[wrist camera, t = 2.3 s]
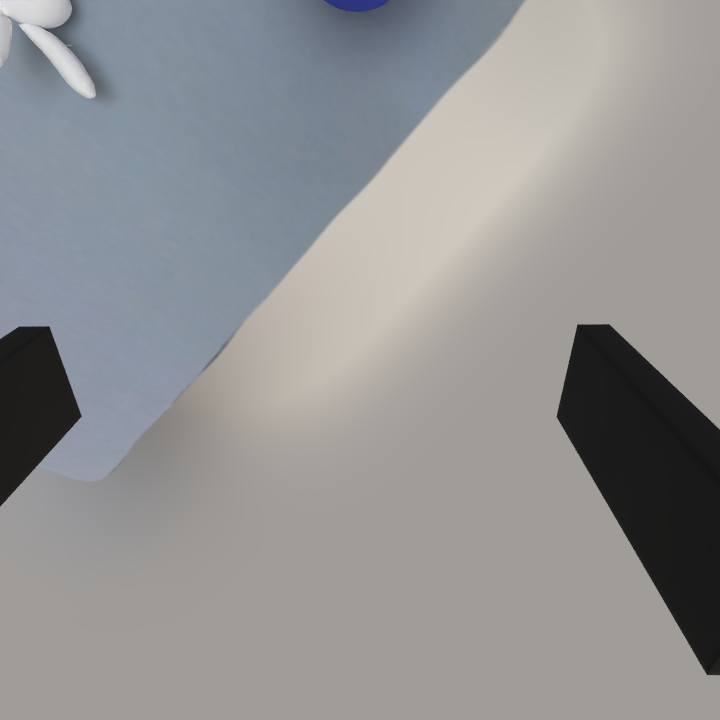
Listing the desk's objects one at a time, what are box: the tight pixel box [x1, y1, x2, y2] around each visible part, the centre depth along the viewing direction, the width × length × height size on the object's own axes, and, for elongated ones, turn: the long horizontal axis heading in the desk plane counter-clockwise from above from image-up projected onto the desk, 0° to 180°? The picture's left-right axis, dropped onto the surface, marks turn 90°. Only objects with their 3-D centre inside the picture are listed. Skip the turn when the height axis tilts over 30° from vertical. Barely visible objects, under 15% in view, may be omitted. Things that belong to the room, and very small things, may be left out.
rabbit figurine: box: [0, 0, 96, 99], centre depth 28 cm, size 6×4×8 cm
